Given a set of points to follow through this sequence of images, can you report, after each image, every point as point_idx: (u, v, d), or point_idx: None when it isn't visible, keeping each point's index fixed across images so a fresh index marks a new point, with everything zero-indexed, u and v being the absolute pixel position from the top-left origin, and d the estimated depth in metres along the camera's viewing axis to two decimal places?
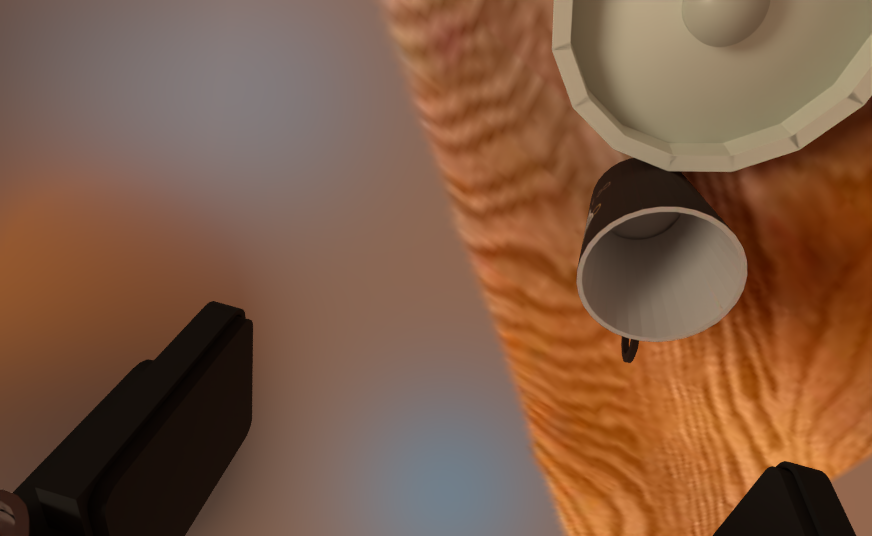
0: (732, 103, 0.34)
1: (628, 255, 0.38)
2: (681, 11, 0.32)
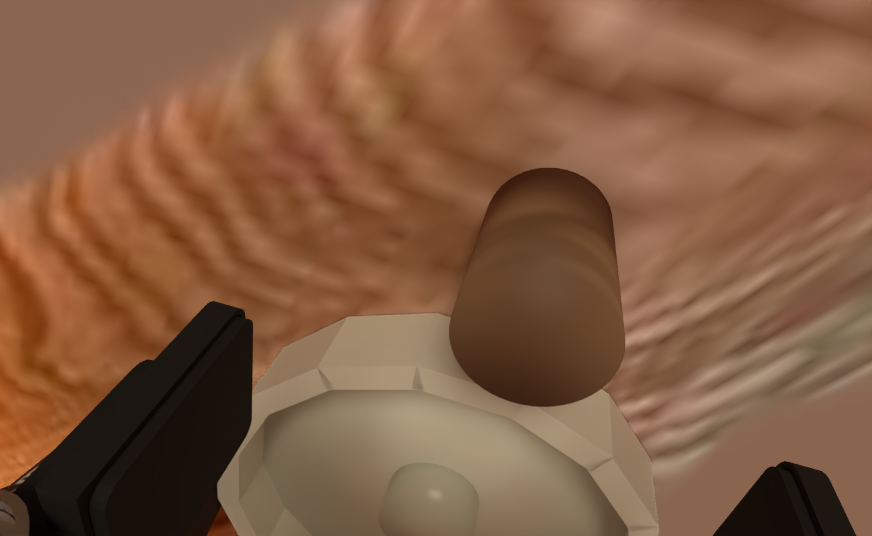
0: (330, 511, 0.27)
1: None
2: (416, 464, 0.24)
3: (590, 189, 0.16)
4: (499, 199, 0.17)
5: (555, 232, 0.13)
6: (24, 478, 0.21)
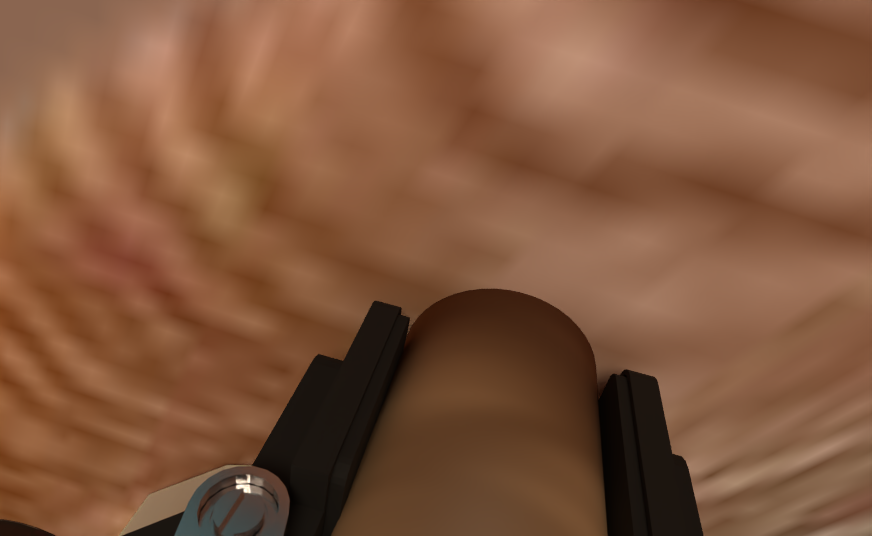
0: None
1: None
2: None
3: (559, 330, 0.10)
4: (413, 347, 0.10)
5: (488, 476, 0.07)
6: None
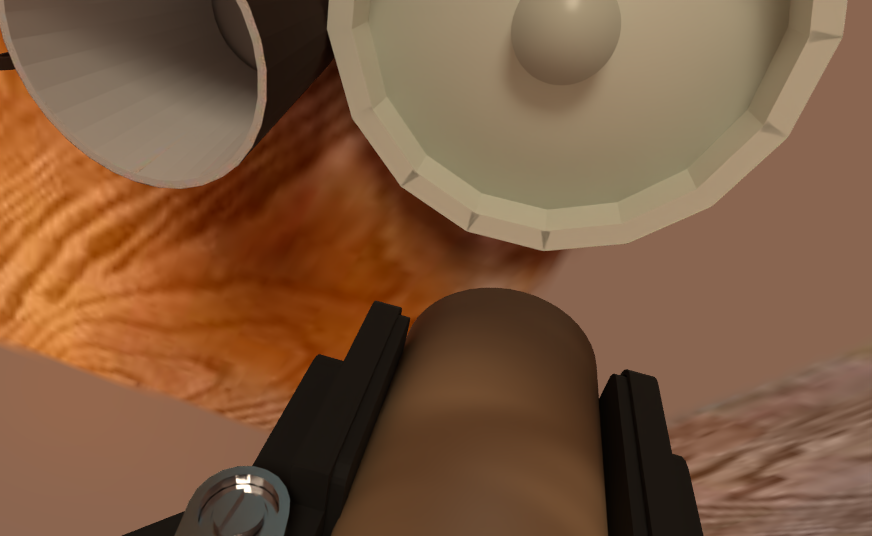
0: (439, 89, 0.25)
1: (183, 17, 0.24)
2: None
3: (559, 329, 0.10)
4: (414, 346, 0.10)
5: (488, 475, 0.07)
6: None
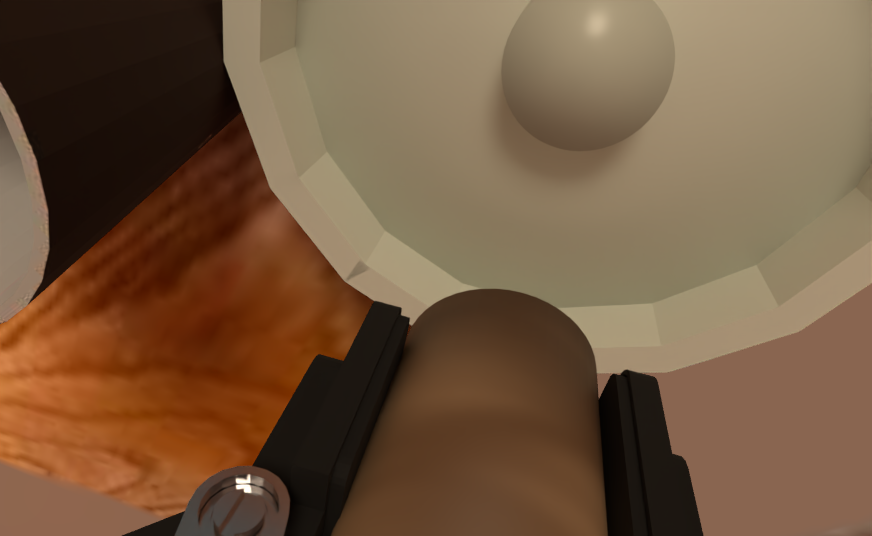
0: (400, 144, 0.17)
1: None
2: None
3: (559, 329, 0.10)
4: (414, 346, 0.10)
5: (488, 477, 0.07)
6: None
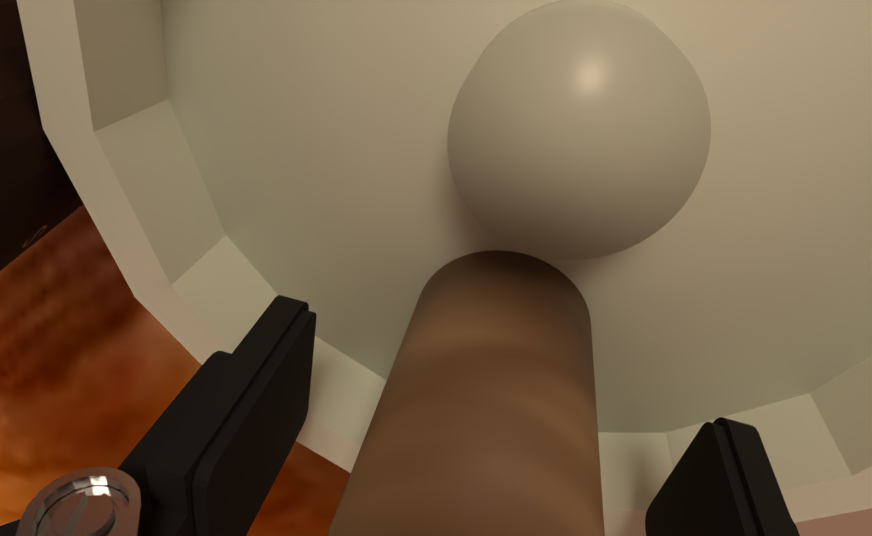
0: (322, 228, 0.13)
1: None
2: (539, 5, 0.09)
3: (557, 285, 0.11)
4: (427, 300, 0.11)
5: (496, 393, 0.08)
6: None
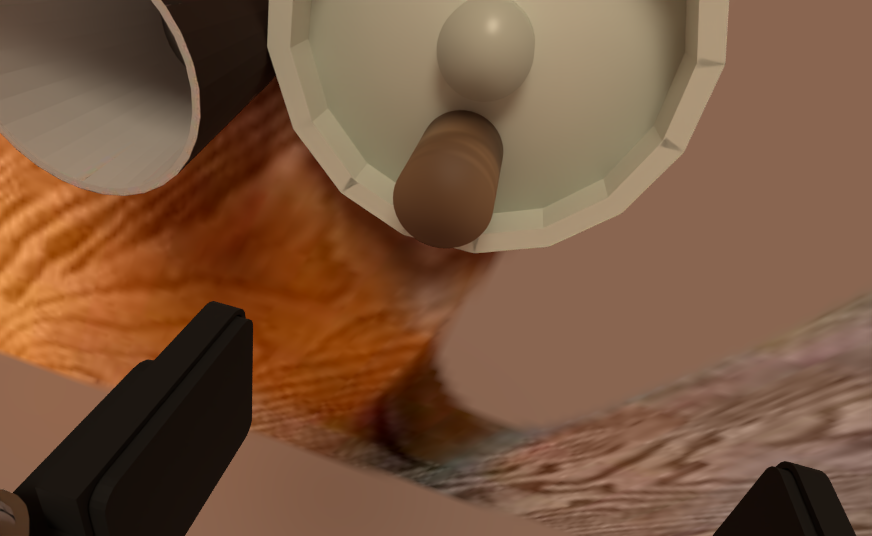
0: (376, 102, 0.27)
1: (132, 32, 0.25)
2: None
3: (485, 122, 0.26)
4: (427, 129, 0.26)
5: (455, 140, 0.22)
6: None
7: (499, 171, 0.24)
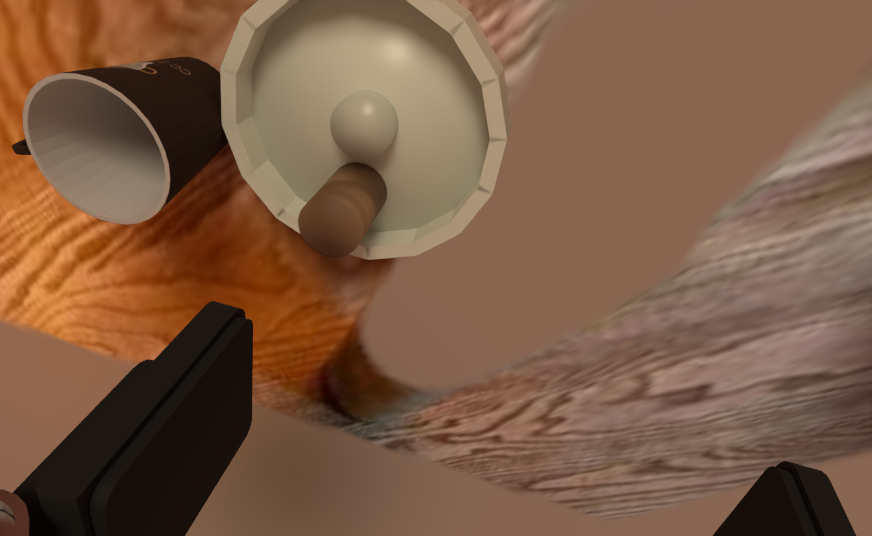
0: (299, 156, 0.39)
1: (135, 112, 0.38)
2: (354, 91, 0.36)
3: (370, 171, 0.38)
4: (331, 176, 0.38)
5: (339, 187, 0.35)
6: None
7: (375, 205, 0.37)
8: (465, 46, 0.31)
